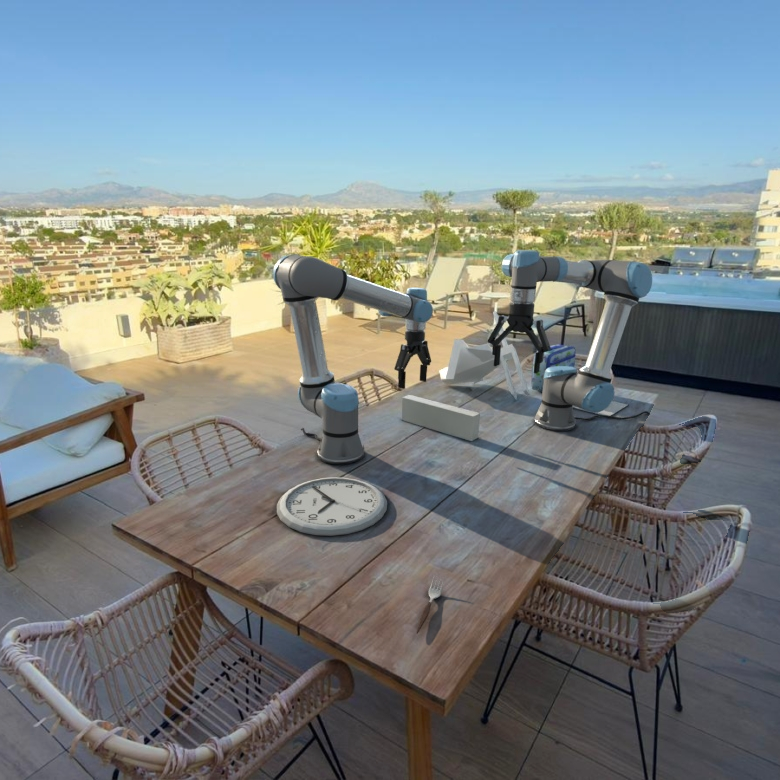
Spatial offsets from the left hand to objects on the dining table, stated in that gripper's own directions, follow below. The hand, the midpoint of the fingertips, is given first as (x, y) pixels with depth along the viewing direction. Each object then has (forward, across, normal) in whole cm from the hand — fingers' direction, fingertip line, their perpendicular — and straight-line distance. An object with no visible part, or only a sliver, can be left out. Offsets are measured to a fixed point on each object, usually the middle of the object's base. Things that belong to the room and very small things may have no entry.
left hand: (412, 384), depth 202 cm
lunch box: (+13, -79, +24) cm, 84 cm away
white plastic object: (+14, -51, +1) cm, 53 cm away
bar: (+15, -1, +13) cm, 20 cm away
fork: (+16, +82, +67) cm, 107 cm away
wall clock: (+16, +66, +24) cm, 72 cm away
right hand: (-15, +4, +44) cm, 47 cm away
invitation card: (+13, -69, +51) cm, 87 cm away
